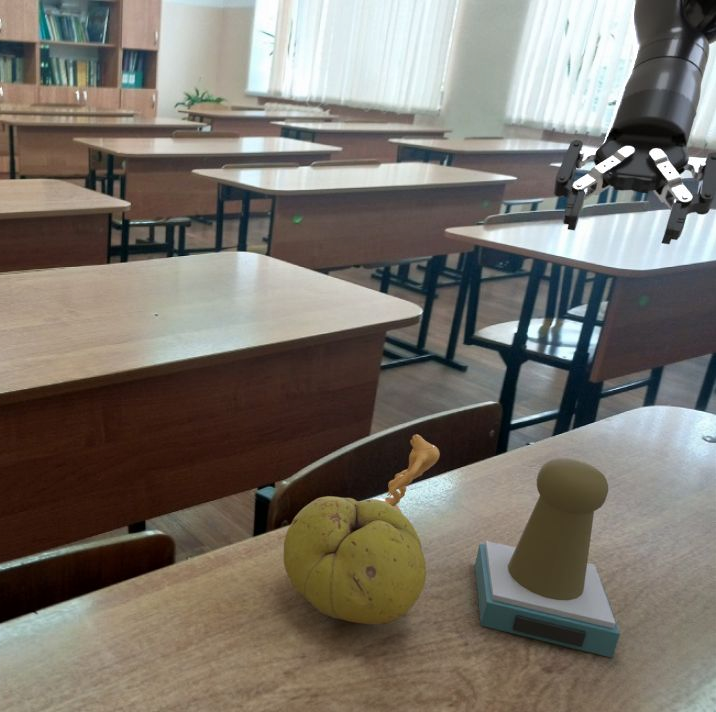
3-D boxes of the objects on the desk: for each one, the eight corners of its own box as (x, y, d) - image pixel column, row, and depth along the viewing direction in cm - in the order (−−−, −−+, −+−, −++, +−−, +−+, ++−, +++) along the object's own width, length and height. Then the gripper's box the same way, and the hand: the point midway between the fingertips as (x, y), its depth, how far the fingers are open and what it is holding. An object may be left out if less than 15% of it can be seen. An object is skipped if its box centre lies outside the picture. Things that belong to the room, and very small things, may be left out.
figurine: (375, 511, 78) (394, 409, 74) (431, 532, 75) (454, 427, 70) (344, 546, 72) (362, 437, 67) (404, 572, 68) (428, 459, 64)
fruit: (348, 553, 71) (364, 462, 67) (445, 631, 61) (469, 530, 58) (255, 585, 65) (266, 488, 62) (345, 676, 56) (364, 568, 52)
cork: (523, 547, 68) (551, 442, 64) (593, 579, 64) (628, 469, 60) (496, 574, 64) (525, 463, 60) (569, 610, 60) (606, 494, 56)
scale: (589, 590, 67) (598, 562, 66) (613, 661, 59) (623, 630, 58) (474, 564, 70) (481, 537, 69) (481, 628, 62) (488, 598, 61)
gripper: (585, 82, 80) (544, 199, 75) (744, 90, 73) (712, 220, 68) (577, 131, 86) (539, 242, 81) (723, 143, 79) (692, 265, 74)
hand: (618, 232), depth 74 cm, fingers open, 8 cm apart
